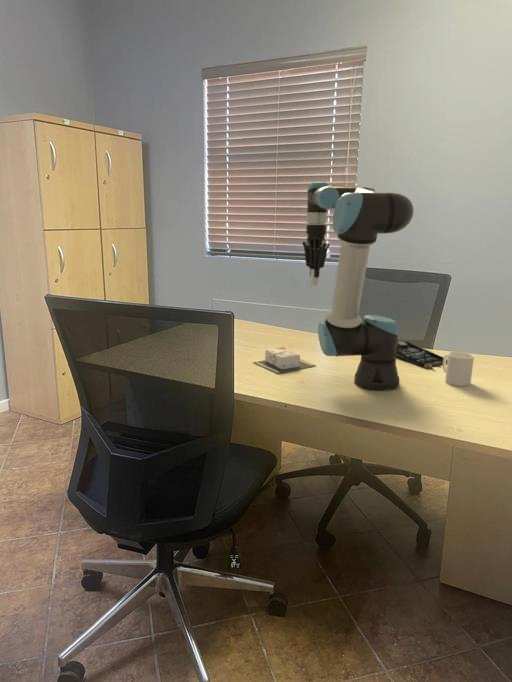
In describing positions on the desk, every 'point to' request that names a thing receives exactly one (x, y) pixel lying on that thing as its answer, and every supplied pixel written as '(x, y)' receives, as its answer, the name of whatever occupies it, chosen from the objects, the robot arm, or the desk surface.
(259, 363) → the mat
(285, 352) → the ink box
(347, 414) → the desk surface
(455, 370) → the cup
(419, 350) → the building model
